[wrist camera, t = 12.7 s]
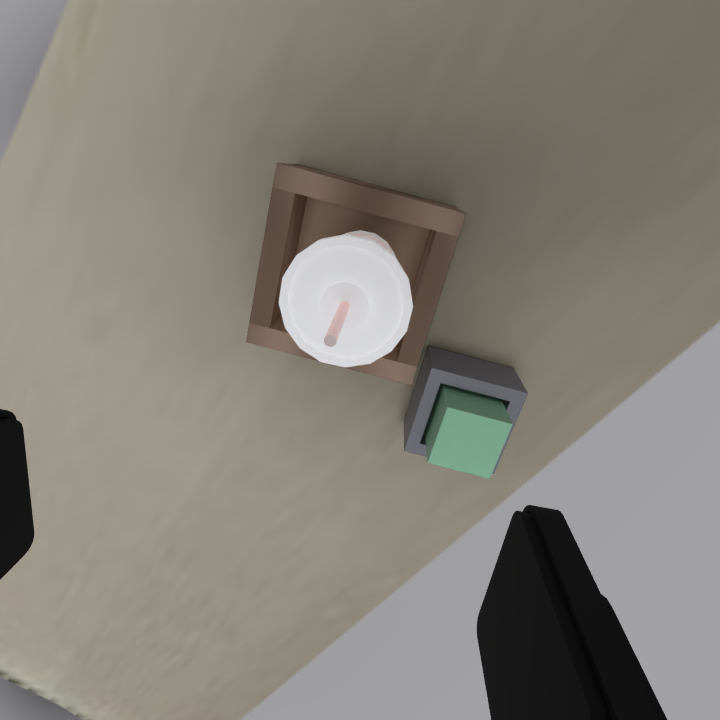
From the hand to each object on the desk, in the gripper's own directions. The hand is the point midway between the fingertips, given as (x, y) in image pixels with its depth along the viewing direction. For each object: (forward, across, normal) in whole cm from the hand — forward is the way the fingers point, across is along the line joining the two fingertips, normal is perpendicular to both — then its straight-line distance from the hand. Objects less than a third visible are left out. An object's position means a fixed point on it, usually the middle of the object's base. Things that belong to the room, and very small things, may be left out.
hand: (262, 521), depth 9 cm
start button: (+23, -8, +7) cm, 25 cm away
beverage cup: (+23, 0, -1) cm, 23 cm away
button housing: (+24, -8, +7) cm, 26 cm away
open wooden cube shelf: (+24, 0, 0) cm, 24 cm away
